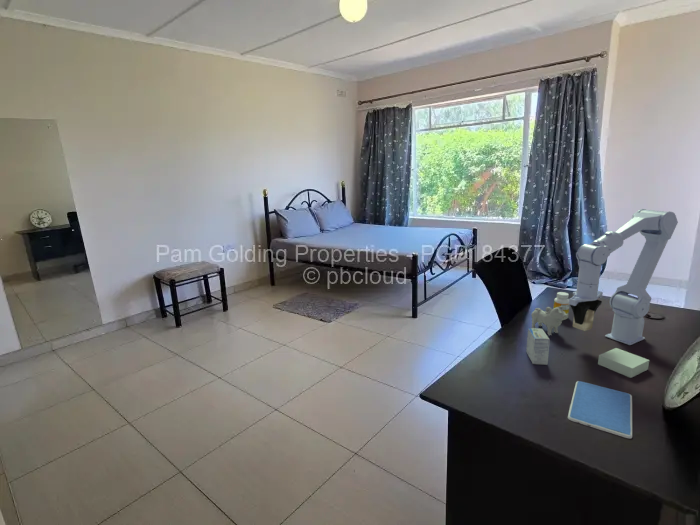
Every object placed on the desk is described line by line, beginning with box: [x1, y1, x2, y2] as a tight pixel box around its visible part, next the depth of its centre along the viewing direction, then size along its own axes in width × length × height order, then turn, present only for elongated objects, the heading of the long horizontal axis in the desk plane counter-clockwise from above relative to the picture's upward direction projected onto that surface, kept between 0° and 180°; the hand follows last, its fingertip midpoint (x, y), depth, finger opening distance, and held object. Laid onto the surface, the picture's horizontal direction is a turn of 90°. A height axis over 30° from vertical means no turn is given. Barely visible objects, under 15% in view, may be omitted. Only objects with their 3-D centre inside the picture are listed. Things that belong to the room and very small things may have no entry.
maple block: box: [572, 309, 595, 332], centre depth 122 cm, size 4×4×6 cm
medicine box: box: [525, 327, 551, 366], centre depth 117 cm, size 8×4×9 cm, turn 168°
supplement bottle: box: [552, 291, 570, 315], centre depth 148 cm, size 5×5×10 cm
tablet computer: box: [567, 380, 633, 439], centre depth 94 cm, size 19×13×1 cm, turn 144°
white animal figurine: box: [530, 306, 569, 336], centre depth 135 cm, size 5×13×11 cm, turn 28°
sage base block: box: [597, 347, 650, 379], centre depth 111 cm, size 9×9×3 cm
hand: (583, 321), depth 123 cm, fingers closed on maple block, 4 cm apart
